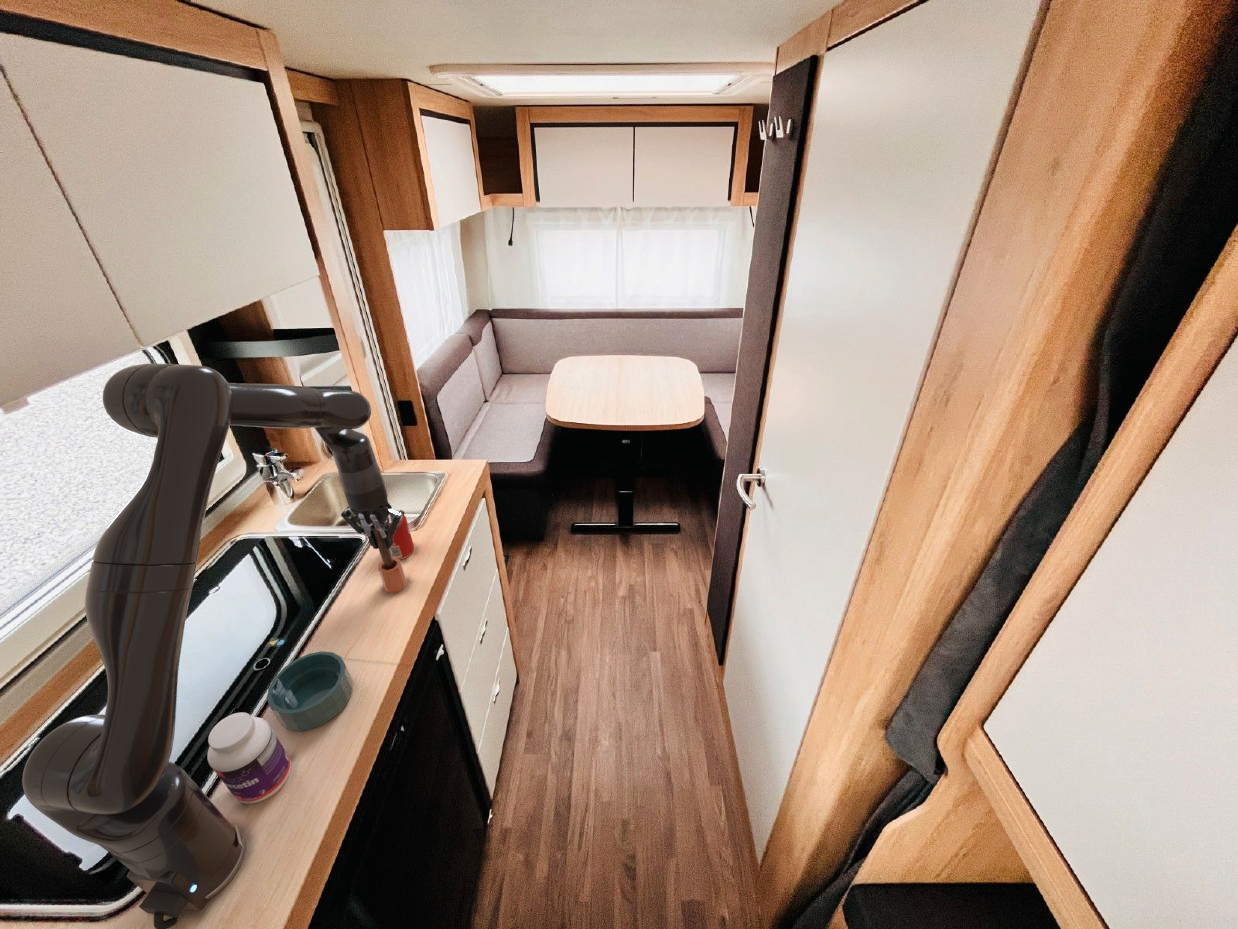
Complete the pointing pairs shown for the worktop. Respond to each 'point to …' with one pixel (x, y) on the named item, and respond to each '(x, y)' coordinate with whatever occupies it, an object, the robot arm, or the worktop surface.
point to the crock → (393, 576)
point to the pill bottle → (248, 757)
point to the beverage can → (401, 540)
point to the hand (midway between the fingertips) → (383, 546)
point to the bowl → (310, 690)
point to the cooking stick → (383, 551)
